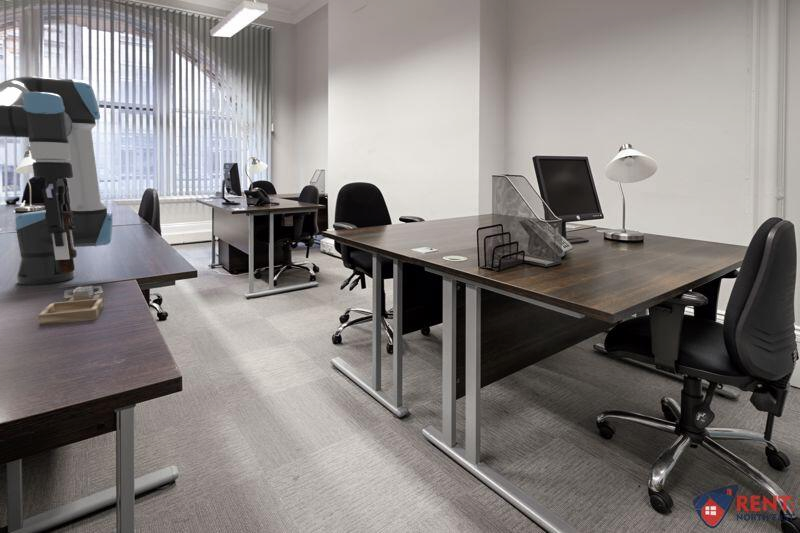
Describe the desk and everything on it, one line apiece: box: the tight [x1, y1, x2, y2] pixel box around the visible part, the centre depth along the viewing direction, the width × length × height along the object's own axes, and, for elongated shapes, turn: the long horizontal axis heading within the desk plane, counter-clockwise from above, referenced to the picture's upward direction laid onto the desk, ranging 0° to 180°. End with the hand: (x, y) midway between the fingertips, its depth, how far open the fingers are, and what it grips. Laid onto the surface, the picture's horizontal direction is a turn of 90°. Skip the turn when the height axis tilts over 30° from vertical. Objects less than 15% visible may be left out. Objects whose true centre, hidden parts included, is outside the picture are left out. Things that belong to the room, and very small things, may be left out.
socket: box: [37, 293, 105, 326], centre depth 121 cm, size 23×12×2 cm, turn 25°
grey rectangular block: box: [72, 284, 95, 301], centre depth 129 cm, size 6×4×4 cm, turn 25°
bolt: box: [45, 211, 78, 273], centre depth 113 cm, size 6×5×15 cm
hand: (65, 257), depth 113 cm, fingers closed on bolt, 5 cm apart
